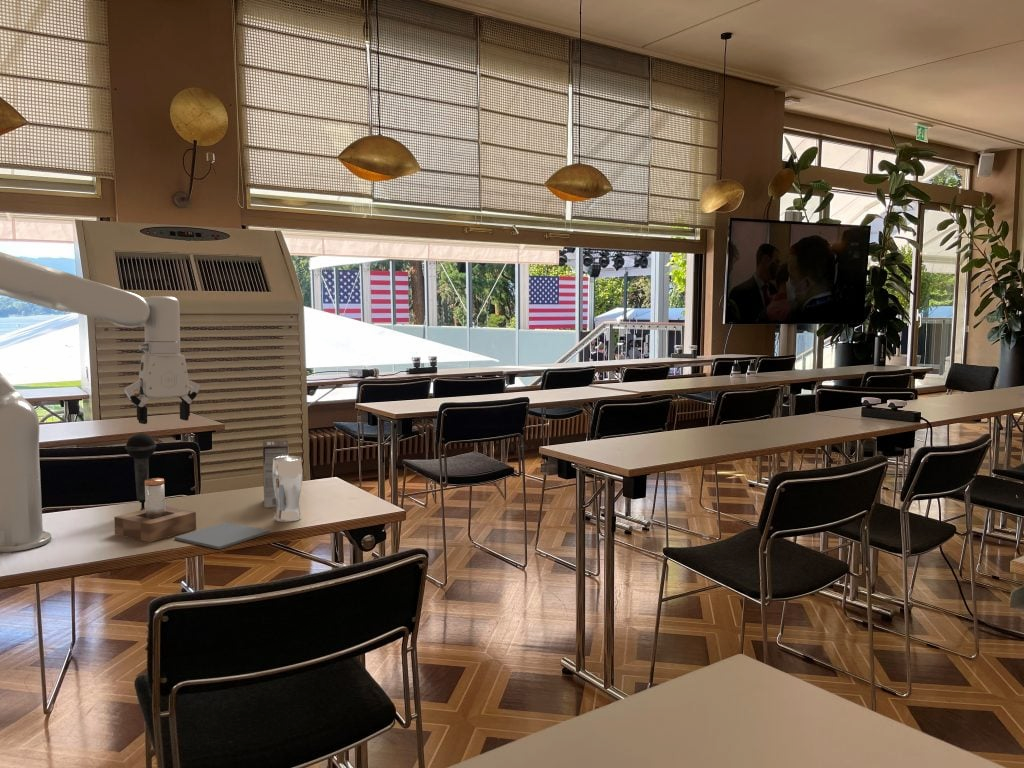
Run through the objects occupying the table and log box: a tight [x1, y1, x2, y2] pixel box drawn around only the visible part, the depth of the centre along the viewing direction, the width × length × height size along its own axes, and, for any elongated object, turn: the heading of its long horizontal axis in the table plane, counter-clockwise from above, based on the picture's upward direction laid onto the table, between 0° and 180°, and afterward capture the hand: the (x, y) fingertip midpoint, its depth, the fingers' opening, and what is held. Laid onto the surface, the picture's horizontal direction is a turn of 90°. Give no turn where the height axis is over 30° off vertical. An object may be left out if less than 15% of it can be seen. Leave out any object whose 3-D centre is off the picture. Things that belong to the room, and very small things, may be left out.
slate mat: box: [174, 521, 270, 550], centre depth 169 cm, size 14×14×1 cm
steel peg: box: [144, 477, 166, 519], centre depth 172 cm, size 4×4×12 cm
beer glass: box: [273, 455, 303, 523], centre depth 183 cm, size 7×7×15 cm
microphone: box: [124, 433, 157, 511], centre depth 187 cm, size 7×7×20 cm
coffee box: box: [262, 439, 290, 509], centre depth 199 cm, size 9×6×16 cm
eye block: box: [113, 505, 197, 543], centre depth 172 cm, size 12×12×4 cm
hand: (164, 421), depth 178 cm, fingers open, 9 cm apart
